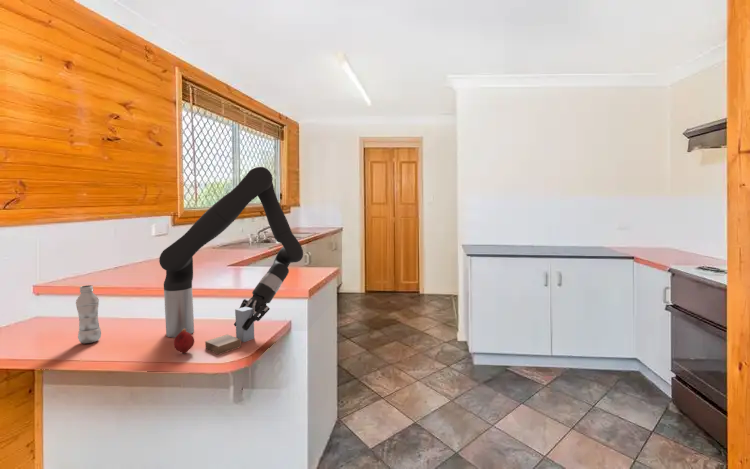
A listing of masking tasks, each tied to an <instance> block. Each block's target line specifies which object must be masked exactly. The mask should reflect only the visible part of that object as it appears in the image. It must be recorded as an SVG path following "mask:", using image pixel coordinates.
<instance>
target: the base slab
mask: <svg viewBox="0 0 750 469" xmlns="http://www.w3.org/2000/svg"><path fill="white" fill-rule="evenodd" d="M204 343H205V345H204V346H205V350H208V351H209V352H211V353H213V354H216V355H221V354H225V353H227V351H228V352H230V351H233V350H236V349H239V348H241V347H242V342H241V339H239V338H236V336H233V335H230V334H228V333H227V334H225V335H222V336H221V335H220V336H218V337H214V338H211V339H208V340H205V341H204ZM238 347H239V348H238ZM232 349H233V350H232Z"/></svg>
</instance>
